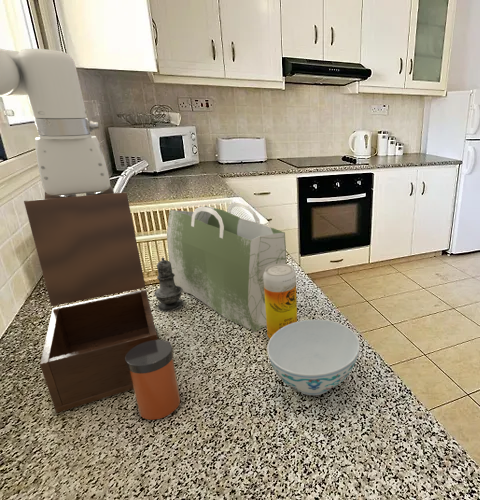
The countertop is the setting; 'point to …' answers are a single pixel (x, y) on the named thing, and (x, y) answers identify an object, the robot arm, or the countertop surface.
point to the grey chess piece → (167, 288)
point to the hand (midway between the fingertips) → (89, 228)
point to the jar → (153, 378)
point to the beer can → (280, 297)
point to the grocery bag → (224, 260)
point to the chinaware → (313, 354)
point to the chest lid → (85, 246)
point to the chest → (94, 347)
